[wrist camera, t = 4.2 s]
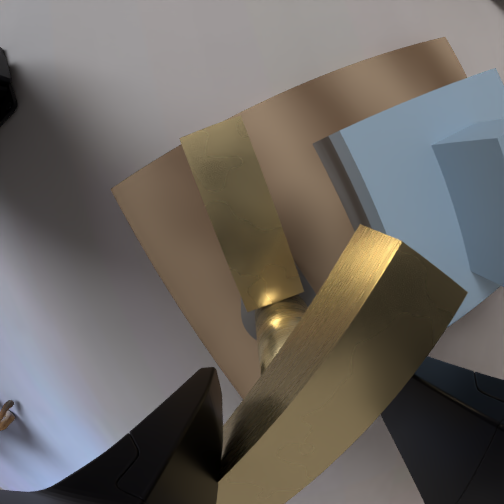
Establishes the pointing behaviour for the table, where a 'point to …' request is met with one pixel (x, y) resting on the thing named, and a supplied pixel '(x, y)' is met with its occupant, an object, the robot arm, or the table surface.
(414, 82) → the latch base
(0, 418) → the lion figurine
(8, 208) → the table surface
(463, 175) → the lid
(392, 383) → the quarter turn key
